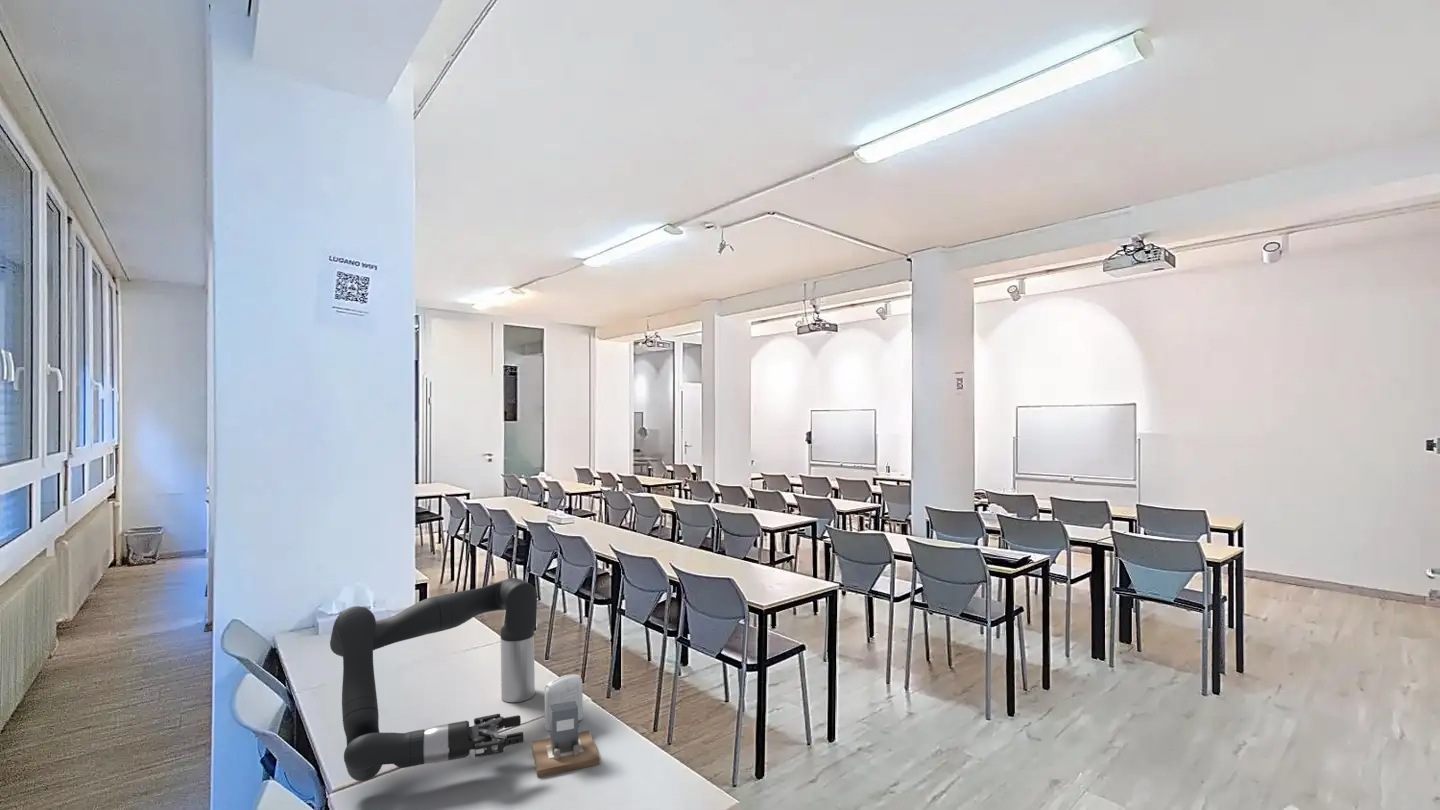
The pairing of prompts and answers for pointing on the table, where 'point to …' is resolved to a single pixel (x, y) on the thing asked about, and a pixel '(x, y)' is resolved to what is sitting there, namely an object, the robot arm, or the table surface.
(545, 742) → the pin tray
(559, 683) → the photo printer
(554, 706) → the block
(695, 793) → the table surface
